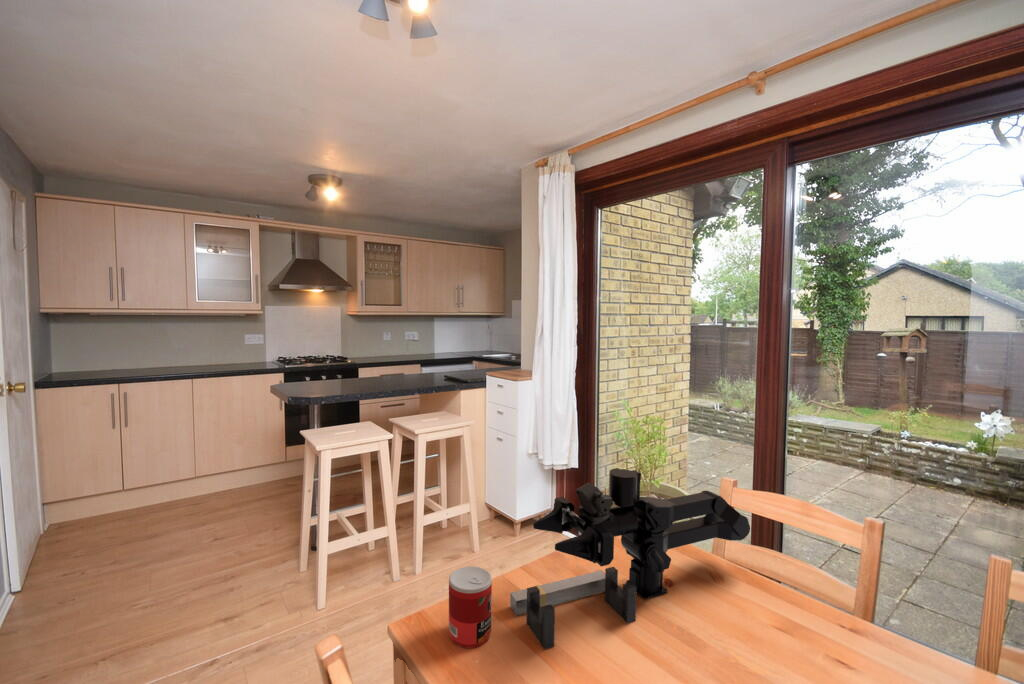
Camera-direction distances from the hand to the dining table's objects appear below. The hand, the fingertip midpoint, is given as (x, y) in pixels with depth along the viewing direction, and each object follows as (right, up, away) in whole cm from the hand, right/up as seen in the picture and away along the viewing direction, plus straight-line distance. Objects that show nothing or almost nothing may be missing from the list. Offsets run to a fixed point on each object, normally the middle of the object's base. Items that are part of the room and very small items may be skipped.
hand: (543, 535), depth 88 cm
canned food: (-14, -17, -4) cm, 22 cm away
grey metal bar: (+4, -16, +7) cm, 18 cm away
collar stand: (+7, -17, 0) cm, 18 cm away
